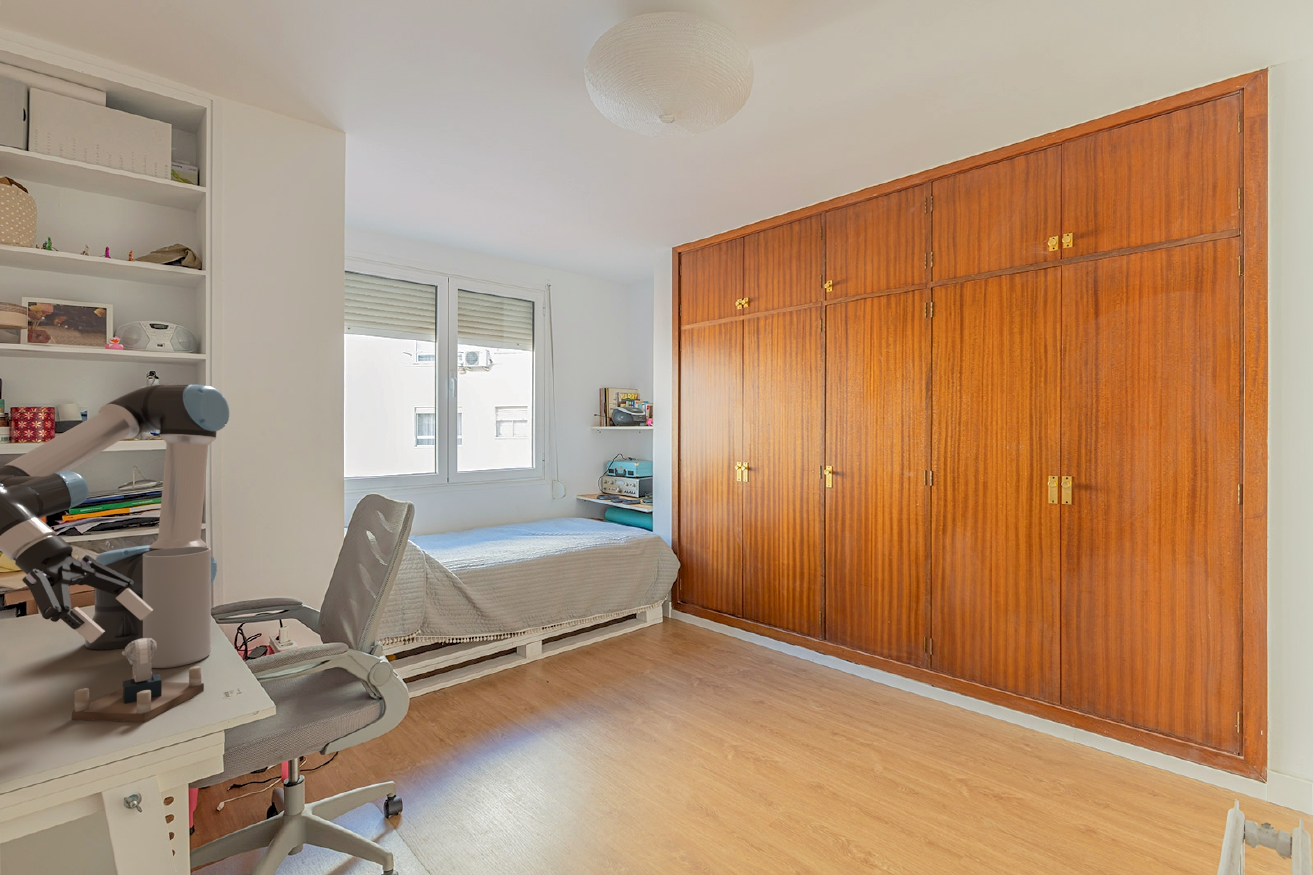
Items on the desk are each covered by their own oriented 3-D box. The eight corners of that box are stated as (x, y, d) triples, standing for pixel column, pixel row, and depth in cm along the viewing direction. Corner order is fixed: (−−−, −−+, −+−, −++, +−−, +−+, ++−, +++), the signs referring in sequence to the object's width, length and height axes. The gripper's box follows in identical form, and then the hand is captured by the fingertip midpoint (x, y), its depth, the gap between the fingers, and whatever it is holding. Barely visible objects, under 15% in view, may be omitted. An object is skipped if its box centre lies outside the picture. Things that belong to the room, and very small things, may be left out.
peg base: (138, 688, 130) (138, 664, 130) (203, 690, 129) (203, 666, 129) (71, 719, 116) (71, 692, 116) (144, 722, 115) (144, 694, 115)
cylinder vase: (139, 659, 146) (139, 551, 146) (205, 646, 155) (205, 544, 155) (146, 674, 137) (146, 559, 137) (215, 659, 146) (215, 551, 146)
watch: (157, 686, 127) (157, 631, 127) (162, 698, 121) (162, 641, 121) (121, 694, 123) (121, 637, 123) (124, 707, 118) (124, 648, 118)
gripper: (71, 549, 131) (150, 620, 134) (-44, 578, 107) (56, 663, 109) (100, 524, 132) (178, 594, 134) (-8, 546, 107) (90, 632, 110)
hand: (124, 625), depth 122 cm, fingers open, 13 cm apart
